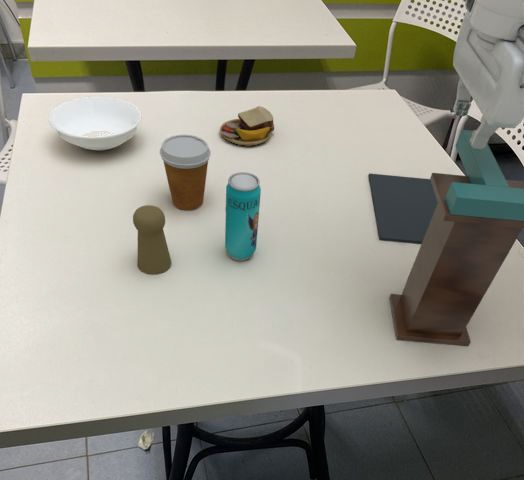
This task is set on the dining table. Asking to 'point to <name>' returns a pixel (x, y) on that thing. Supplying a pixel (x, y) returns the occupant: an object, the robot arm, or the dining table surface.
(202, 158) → the disposable coffee cup
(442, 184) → the stand
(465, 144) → the letter T
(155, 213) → the olive pawn
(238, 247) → the beverage can
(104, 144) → the bowl
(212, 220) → the dining table surface
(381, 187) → the mat
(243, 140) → the toy sandwich meal
